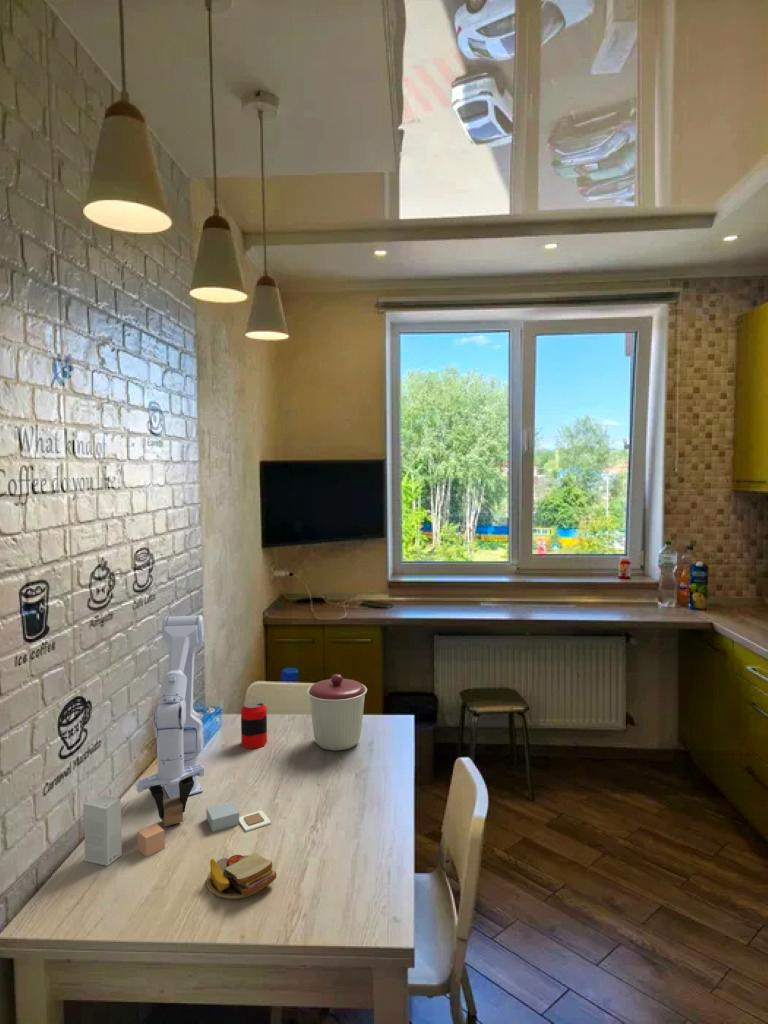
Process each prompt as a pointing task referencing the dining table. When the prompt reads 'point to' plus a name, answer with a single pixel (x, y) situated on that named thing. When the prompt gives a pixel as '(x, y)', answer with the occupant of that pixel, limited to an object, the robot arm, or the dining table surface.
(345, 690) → the canister
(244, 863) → the toy sandwich meal
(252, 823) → the swatch
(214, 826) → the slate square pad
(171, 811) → the walnut cube
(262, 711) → the soda can
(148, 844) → the terracotta cube
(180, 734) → the robot arm
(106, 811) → the skincare box
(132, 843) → the dining table surface
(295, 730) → the dining table surface
